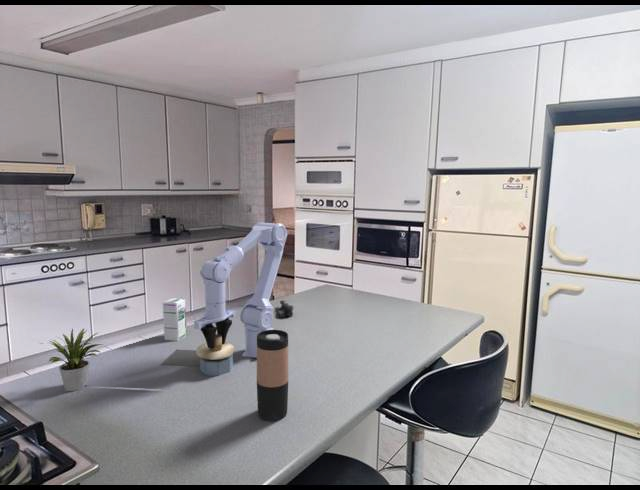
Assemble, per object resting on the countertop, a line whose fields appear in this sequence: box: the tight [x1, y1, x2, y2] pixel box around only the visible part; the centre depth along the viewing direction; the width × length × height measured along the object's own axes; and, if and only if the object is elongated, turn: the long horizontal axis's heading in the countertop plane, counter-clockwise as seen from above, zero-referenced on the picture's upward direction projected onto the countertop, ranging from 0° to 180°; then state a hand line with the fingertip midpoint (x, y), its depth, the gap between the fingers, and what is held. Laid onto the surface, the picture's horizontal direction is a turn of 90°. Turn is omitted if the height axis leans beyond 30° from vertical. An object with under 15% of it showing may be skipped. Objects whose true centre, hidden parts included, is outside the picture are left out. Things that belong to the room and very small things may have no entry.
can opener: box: [277, 299, 294, 318], centre depth 182 cm, size 18×7×6 cm, turn 11°
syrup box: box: [162, 297, 188, 342], centre depth 147 cm, size 6×6×14 cm
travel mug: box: [256, 329, 289, 422], centre depth 99 cm, size 8×8×20 cm
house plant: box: [39, 328, 105, 392], centre depth 109 cm, size 14×14×16 cm
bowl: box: [199, 353, 234, 377], centre depth 123 cm, size 9×9×4 cm
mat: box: [159, 349, 200, 368], centre depth 131 cm, size 12×12×1 cm
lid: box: [195, 333, 235, 360], centre depth 122 cm, size 11×11×5 cm
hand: (216, 345), depth 122 cm, fingers closed on lid, 4 cm apart
